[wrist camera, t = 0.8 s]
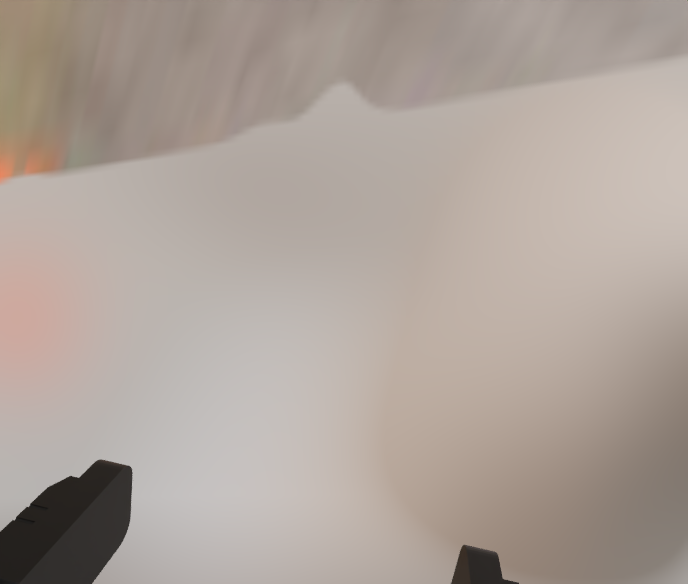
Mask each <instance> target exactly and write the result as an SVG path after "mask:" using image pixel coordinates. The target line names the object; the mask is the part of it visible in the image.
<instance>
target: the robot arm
mask: <svg viewBox="0 0 688 584" xmlns="http://www.w3.org/2000/svg"><path fill="white" fill-rule="evenodd" d="M131 493H132V469H131V467H130V466H126V465H122V464H118V463H114V462H109V461H105V460H98V461H96V462H95V463H94V464H93V465H92V466H91V467H90V468H89V469H88V470H87V471H86V472H85V473H84V474H83V475H82V476H81V477H80V478H77V477H72V476H69V477H67V478H66V479H64V480H62V481H60V482H58V483H56V484H54V485H52V486H50V487H48V488H47V489H46V490H45V491H44V492H42V493H41V494H40V495H39V496H38V497H37V498H36V499H35V500H34V501H33V502H32V503H31V504H30V506H29V507H26V508H25V509H24V510H23V511H22V512H21V513H20V514H19V515H18V516H17V517H16V519H15V521H14V520H13V521H11V522H10V523H9V524H8V525H7V526H6V527H5V528H4V529H3V530H2V531H1V532H0V584H92V583H93V582H94V580H95V579H96V577H97V576H98V575H99V573H100V572H101V571H102V569H103V568H104V567H105V565H106V564H107V562H108V561H109V560H110V559H111V557H112V556H113V554H114V553H115V552H116V550H117V549H118V548H119V546H120V545H121V543H122V541H123V539H124V537H125V535H126V533H127V530H128V526H129V522H130V514H131ZM451 584H519V583H517V582H513V581H508V580H504V579H503V578H502V573H501V568H500V562H499V558H498V555H497V553H496V552H493V551H489V550H484V549H480V548H476V547H472V546H467V545H463V546H462V548H461V551H460V554H459V558H458V562H457V565H456V569H455V572H454V576H453V579H452V583H451Z"/></svg>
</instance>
